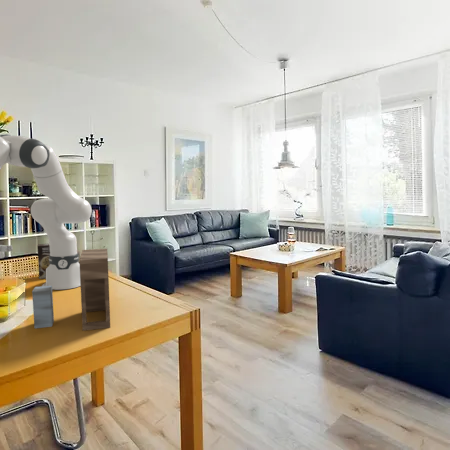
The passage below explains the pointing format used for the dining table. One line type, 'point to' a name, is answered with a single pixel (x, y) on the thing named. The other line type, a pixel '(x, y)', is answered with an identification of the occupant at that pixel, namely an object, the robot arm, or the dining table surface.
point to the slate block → (43, 306)
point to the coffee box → (43, 259)
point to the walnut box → (94, 286)
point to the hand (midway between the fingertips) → (8, 251)
